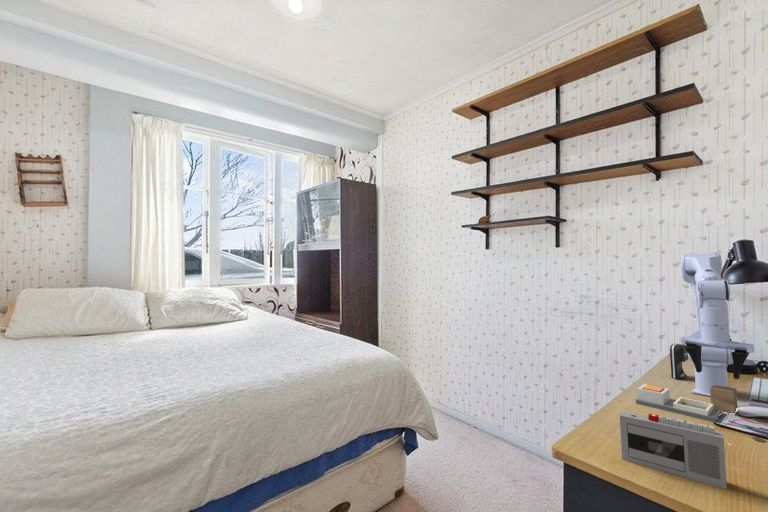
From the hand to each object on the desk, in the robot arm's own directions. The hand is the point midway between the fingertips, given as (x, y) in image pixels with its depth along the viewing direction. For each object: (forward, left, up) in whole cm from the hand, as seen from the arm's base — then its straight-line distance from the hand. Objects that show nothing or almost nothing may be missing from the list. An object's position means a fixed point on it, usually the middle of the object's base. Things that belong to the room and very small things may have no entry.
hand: (717, 374), depth 97 cm
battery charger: (-26, -14, -10) cm, 31 cm away
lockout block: (0, +1, -10) cm, 10 cm away
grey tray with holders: (+7, -8, -9) cm, 14 cm away
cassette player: (+44, 0, -10) cm, 45 cm away
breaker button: (+7, -13, -8) cm, 17 cm away
